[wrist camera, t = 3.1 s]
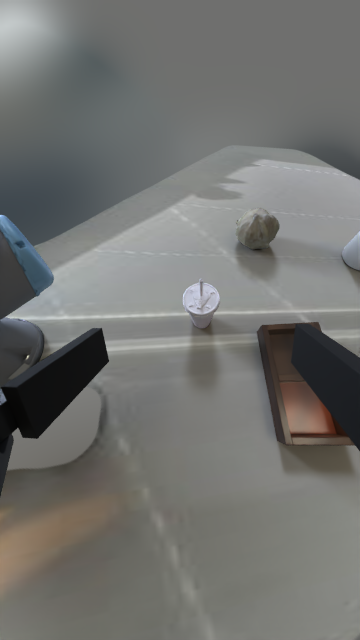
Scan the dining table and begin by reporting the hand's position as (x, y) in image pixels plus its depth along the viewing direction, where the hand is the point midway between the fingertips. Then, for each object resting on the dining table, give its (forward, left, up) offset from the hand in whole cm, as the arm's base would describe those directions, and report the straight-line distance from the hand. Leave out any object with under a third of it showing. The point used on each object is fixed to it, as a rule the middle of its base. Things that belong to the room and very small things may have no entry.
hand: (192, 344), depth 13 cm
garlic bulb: (-21, +29, -26) cm, 44 cm away
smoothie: (-10, +7, -26) cm, 28 cm away
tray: (+9, +15, -25) cm, 31 cm away
